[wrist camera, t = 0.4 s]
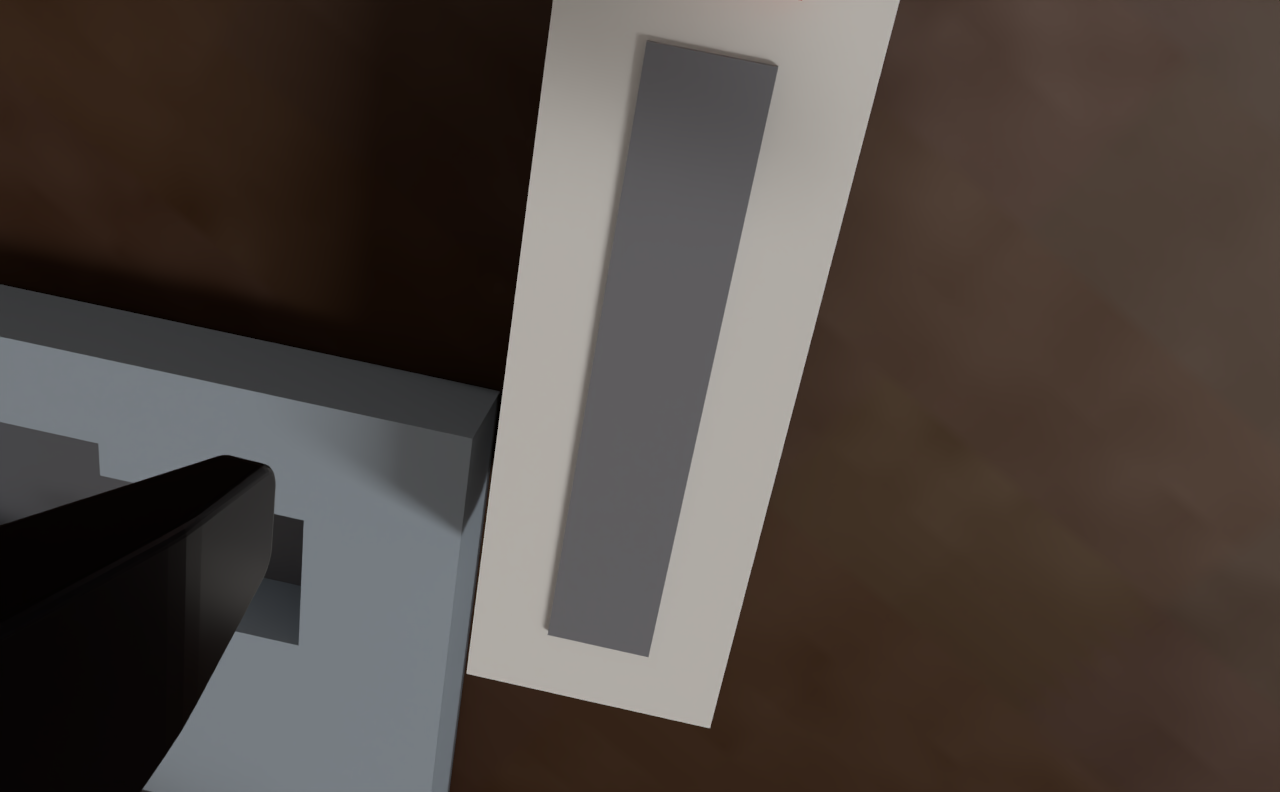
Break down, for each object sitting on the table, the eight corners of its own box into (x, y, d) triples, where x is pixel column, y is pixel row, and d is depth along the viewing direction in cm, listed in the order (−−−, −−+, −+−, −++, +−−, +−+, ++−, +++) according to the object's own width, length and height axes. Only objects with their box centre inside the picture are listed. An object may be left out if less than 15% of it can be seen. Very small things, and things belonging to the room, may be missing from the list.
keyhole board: (429, 943, 28) (404, 1015, 27) (-89, 820, 29) (-148, 883, 27) (499, 391, 21) (472, 438, 20) (-187, 244, 22) (-274, 277, 20)
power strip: (728, 552, 22) (708, 741, 17) (534, 510, 22) (461, 685, 18) (905, -162, 17) (948, -176, 12) (643, -211, 17) (579, -246, 12)
